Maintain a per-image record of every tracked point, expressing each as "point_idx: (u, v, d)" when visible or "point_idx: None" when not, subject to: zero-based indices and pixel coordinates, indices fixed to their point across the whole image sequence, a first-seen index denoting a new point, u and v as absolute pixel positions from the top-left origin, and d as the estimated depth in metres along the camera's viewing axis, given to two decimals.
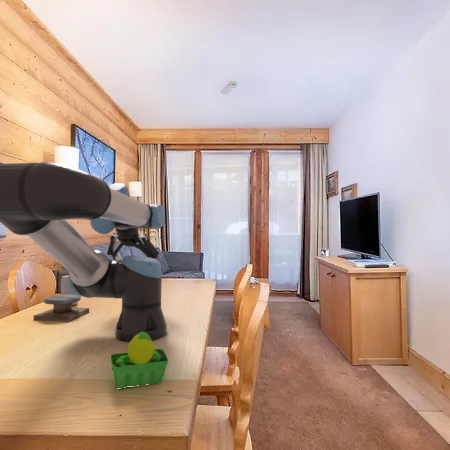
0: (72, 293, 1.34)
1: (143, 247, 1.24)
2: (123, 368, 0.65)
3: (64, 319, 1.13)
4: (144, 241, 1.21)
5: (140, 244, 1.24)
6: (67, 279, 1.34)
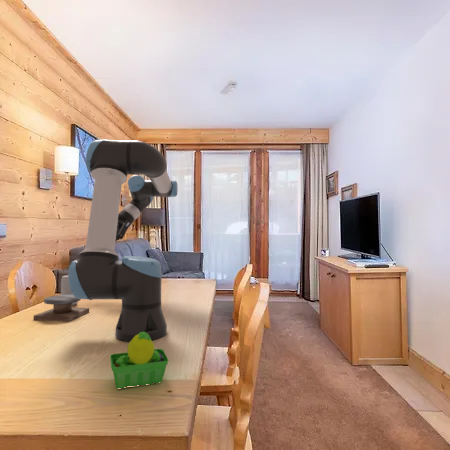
0: None
1: (119, 230, 1.47)
2: (123, 368, 0.65)
3: (64, 319, 1.13)
4: (125, 223, 1.48)
5: (120, 228, 1.49)
6: (67, 279, 1.34)
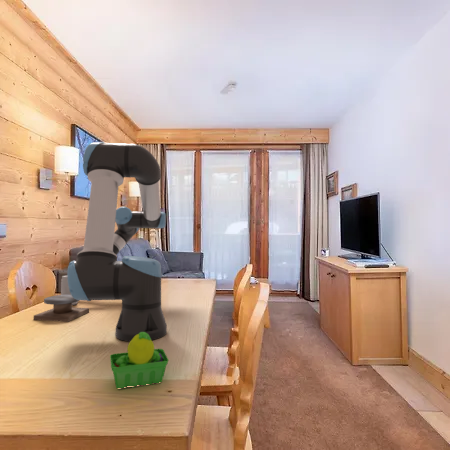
0: None
1: None
2: (123, 368, 0.65)
3: (64, 319, 1.13)
4: None
5: None
6: None
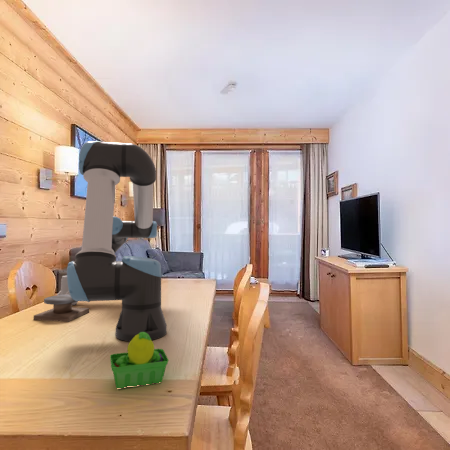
0: None
1: None
2: (123, 368, 0.65)
3: (64, 319, 1.13)
4: None
5: None
6: None
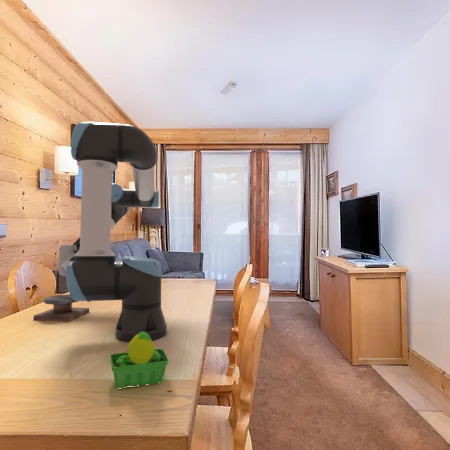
0: None
1: None
2: (123, 368, 0.65)
3: (64, 319, 1.13)
4: None
5: None
6: (65, 247, 1.28)
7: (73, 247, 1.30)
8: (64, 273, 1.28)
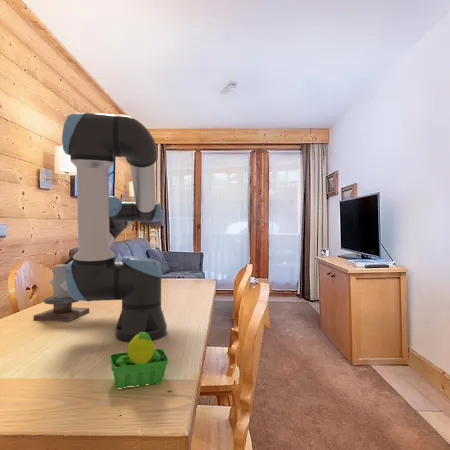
0: None
1: None
2: (123, 368, 0.65)
3: (64, 319, 1.13)
4: None
5: None
6: (60, 268, 1.17)
7: None
8: (59, 296, 1.17)
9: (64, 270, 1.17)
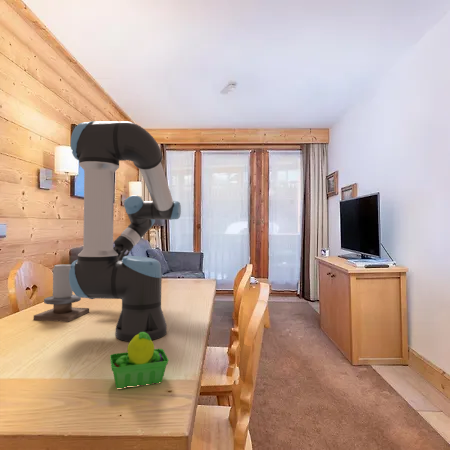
0: (66, 284, 1.18)
1: None
2: (123, 368, 0.65)
3: (64, 319, 1.13)
4: (123, 251, 1.30)
5: None
6: (60, 268, 1.17)
7: (68, 268, 1.19)
8: (59, 296, 1.17)
9: (64, 270, 1.17)
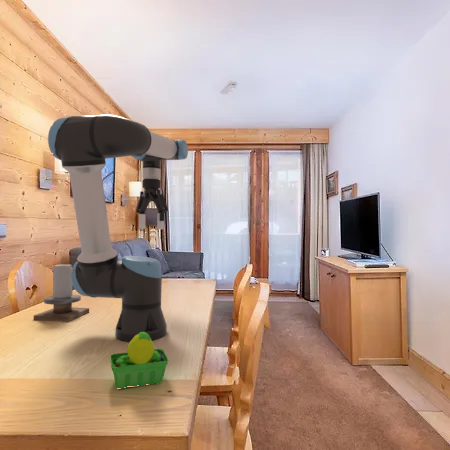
0: (66, 284, 1.18)
1: (157, 201, 1.37)
2: (123, 368, 0.65)
3: (64, 319, 1.13)
4: (158, 193, 1.35)
5: (156, 199, 1.37)
6: (60, 268, 1.17)
7: (68, 268, 1.19)
8: (59, 296, 1.17)
9: (64, 270, 1.17)
